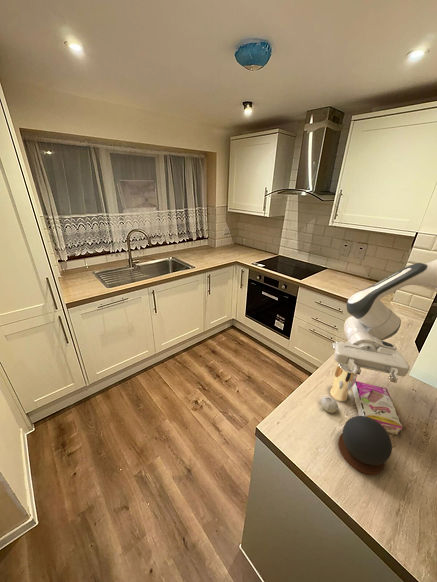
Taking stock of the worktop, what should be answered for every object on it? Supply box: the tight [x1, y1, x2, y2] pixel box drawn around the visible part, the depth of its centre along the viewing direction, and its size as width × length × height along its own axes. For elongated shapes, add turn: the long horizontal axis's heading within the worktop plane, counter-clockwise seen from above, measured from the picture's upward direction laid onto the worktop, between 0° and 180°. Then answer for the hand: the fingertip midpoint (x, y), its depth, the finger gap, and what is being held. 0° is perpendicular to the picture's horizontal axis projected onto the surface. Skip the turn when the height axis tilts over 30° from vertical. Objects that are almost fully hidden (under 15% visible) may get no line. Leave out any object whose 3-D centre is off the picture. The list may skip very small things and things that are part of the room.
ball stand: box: [337, 415, 393, 476], centre depth 68 cm, size 12×12×13 cm
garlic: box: [320, 395, 339, 414], centre depth 83 cm, size 6×5×5 cm
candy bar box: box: [351, 380, 403, 436], centre depth 83 cm, size 11×5×16 cm
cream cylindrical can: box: [329, 362, 359, 402], centre depth 86 cm, size 7×7×15 cm
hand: (375, 376), depth 68 cm, fingers open, 8 cm apart
